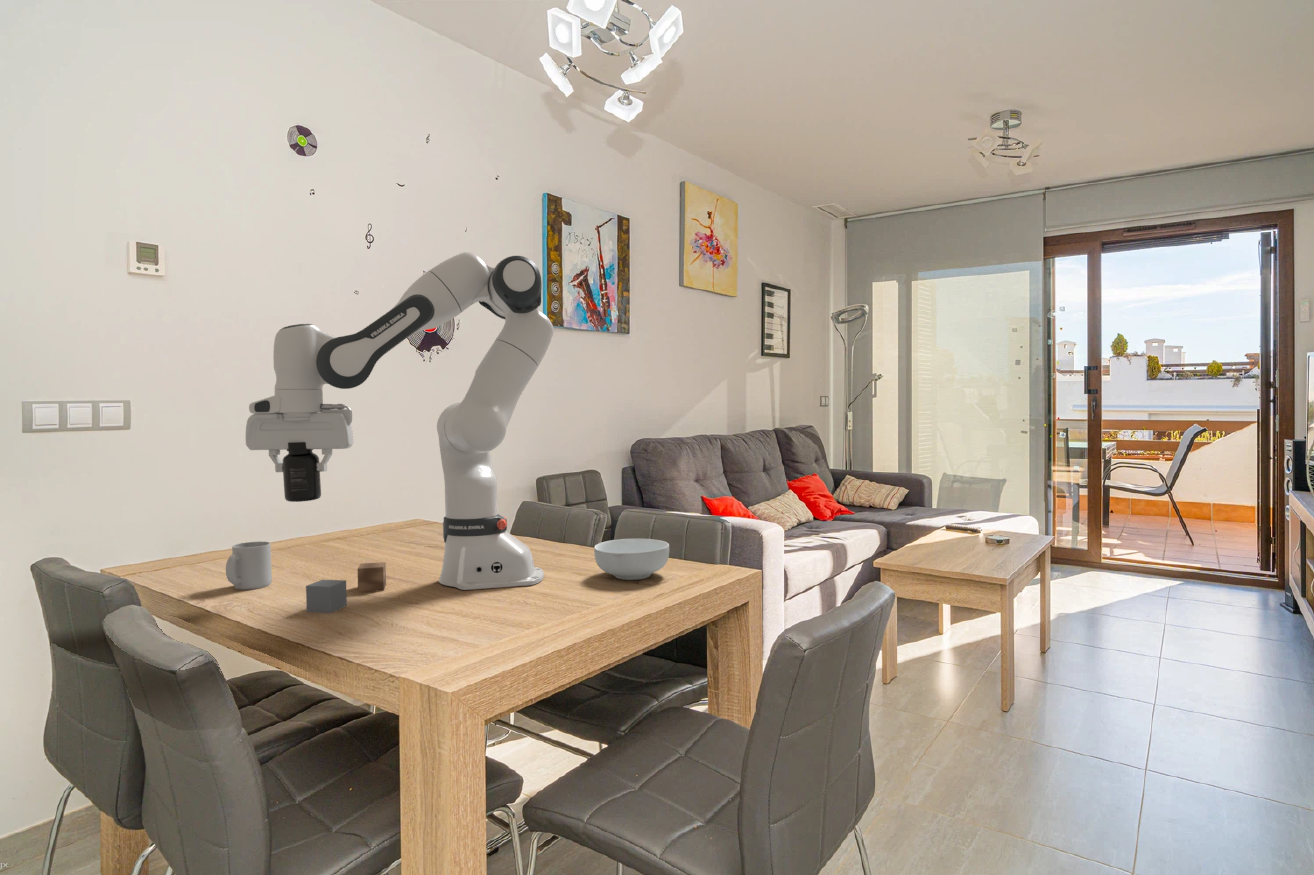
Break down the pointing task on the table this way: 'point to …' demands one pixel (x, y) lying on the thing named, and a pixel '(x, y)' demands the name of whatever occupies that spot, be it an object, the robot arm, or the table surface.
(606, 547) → the cereal bowl
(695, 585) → the table surface
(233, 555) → the cup
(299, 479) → the supplement bottle
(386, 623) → the table surface
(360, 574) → the walnut block
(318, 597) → the charcoal block
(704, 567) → the table surface
